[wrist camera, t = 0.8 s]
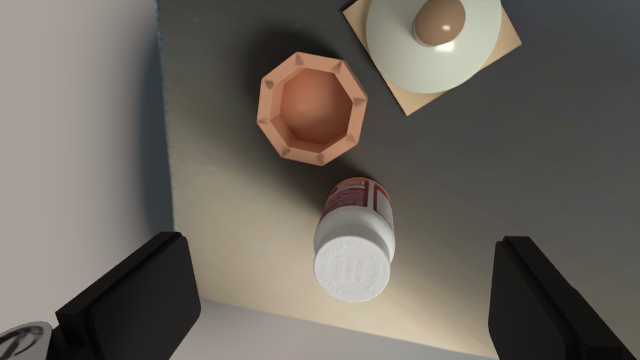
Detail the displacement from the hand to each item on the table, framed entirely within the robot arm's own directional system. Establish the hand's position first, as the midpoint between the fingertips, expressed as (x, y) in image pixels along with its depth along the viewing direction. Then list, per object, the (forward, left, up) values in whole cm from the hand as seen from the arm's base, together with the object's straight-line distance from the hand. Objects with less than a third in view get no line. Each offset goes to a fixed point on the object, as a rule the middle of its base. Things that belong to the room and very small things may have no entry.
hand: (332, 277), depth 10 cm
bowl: (+2, -4, -22) cm, 23 cm away
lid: (-9, -4, -22) cm, 24 cm away
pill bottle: (+4, +6, -23) cm, 24 cm away
